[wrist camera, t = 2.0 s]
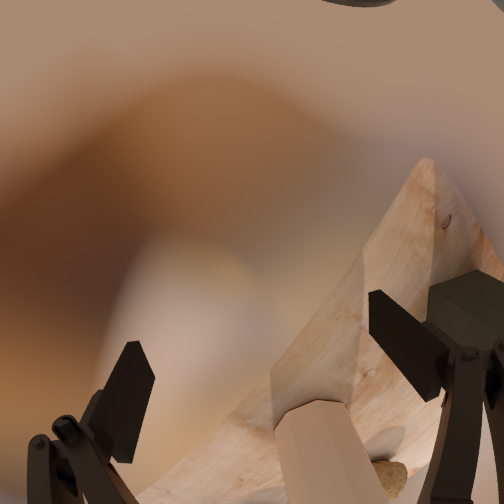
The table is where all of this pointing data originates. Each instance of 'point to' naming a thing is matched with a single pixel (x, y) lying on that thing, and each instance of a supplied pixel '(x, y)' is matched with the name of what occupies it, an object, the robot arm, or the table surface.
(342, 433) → the cup
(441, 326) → the stand
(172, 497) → the table surface
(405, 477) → the cut tuber
